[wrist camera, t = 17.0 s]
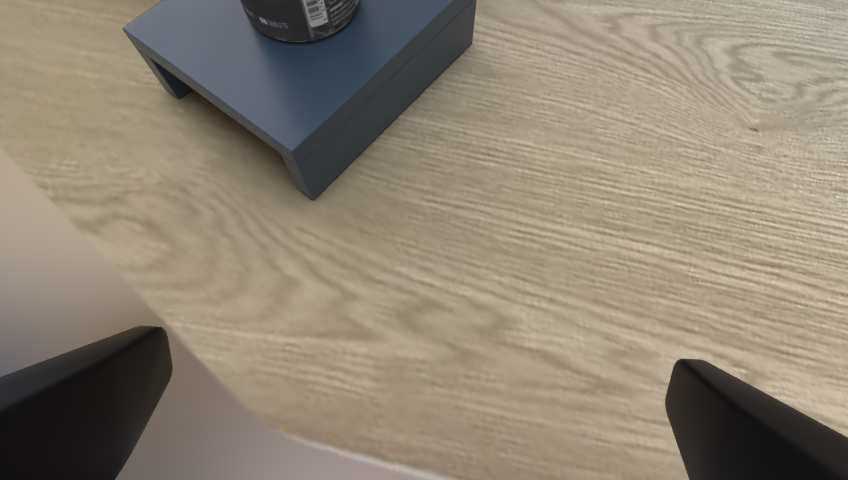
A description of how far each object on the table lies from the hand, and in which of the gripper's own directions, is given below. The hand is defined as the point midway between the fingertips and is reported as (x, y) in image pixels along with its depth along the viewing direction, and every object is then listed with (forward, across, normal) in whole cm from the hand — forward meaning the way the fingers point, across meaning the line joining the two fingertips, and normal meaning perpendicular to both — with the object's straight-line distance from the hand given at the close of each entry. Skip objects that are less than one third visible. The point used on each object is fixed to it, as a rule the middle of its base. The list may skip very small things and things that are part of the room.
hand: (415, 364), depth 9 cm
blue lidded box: (+23, +7, -4) cm, 25 cm away
